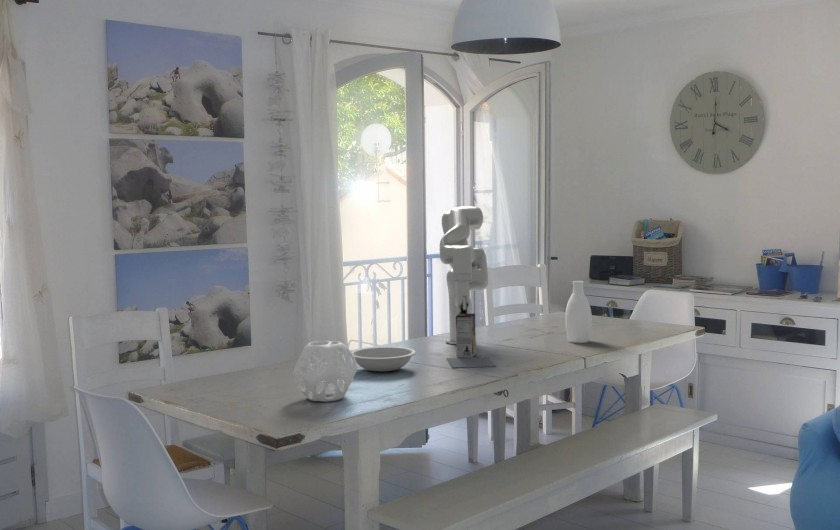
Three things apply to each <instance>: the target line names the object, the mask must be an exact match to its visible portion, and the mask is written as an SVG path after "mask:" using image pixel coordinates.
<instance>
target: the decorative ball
mask: <svg viewBox="0 0 840 530" xmlns="http://www.w3.org/2000/svg"><path fill="white" fill-rule="evenodd" d="M339 350H340V351H339ZM316 352H319V353H320V357H319V358H320V359H319V358H318V357H317V354H316ZM312 358H313V363H312V362H311V360H312ZM326 360H327V362H326ZM303 368H307V372H304V371H303ZM357 371H358V364H357V362H356V360H355V358H354V356H353V354H352V352H351V350H350V348H349V347H348V346H347V345H346V344H345V343H343V342H341V341H338V340H332V341H330V340H315V341H311V342H309V343H307V344H306V345H305V346H304V347H303V350H302V353H301V354H300V356H299V358H298V360H297V362H296V364H295V366H294V369H293V371H292V377H293V380H294V382H295V385H296V386H297V388H298V390H299V391H300V392H301V393H302V394H303V395H304V396H305V397H306V398H307V399H308V400H310V401H312V402H325V403H326V402H330V403H331V402H336V401H339V400H342V399H343V398H344V397H345V396H346V394H347V392H348V390H349V389H350V386H351V383H352V381H353V379H354V377H355V375H356V373H357ZM323 380H325V381H323ZM302 384H303V385H304V386H305V387H303V386H302ZM330 384H333V385H334V388H335V389H332V388H331V387H330ZM328 396H330V397H328Z"/></svg>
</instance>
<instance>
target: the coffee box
mask: <svg viewBox="0 0 840 530" xmlns="http://www.w3.org/2000/svg"><path fill="white" fill-rule="evenodd" d="M476 342H477V340H476V313H473V312H472V314H458V315H457V316H456V343H457V344H456V358H473V357H475V355H476V354H477V345H476Z"/></svg>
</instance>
